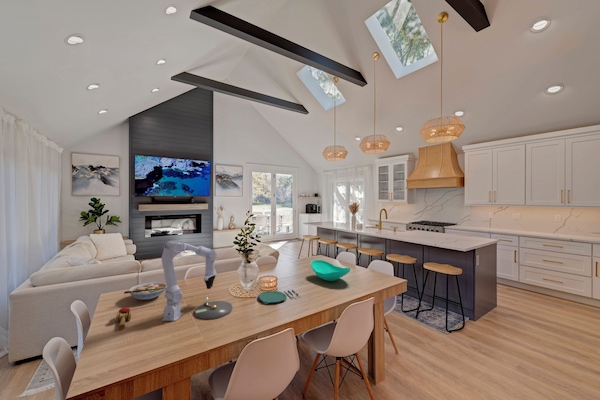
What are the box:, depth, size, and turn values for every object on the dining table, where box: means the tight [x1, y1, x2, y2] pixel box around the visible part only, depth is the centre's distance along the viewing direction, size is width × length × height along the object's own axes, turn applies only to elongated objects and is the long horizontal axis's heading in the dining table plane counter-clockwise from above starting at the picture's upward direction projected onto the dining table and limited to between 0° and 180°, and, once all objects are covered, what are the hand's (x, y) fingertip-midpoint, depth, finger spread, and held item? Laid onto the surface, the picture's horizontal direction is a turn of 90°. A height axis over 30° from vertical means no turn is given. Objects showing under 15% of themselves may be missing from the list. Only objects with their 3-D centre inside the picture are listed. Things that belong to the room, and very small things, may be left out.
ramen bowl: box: [123, 281, 167, 301], centre depth 170 cm, size 25×23×8 cm
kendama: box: [115, 306, 133, 331], centre depth 137 cm, size 8×6×18 cm
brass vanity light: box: [202, 296, 217, 309], centre depth 154 cm, size 11×3×5 cm, turn 61°
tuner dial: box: [194, 300, 233, 320], centre depth 153 cm, size 22×22×2 cm
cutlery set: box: [257, 289, 300, 305], centre depth 175 cm, size 20×30×2 cm, turn 116°
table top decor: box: [310, 259, 352, 282], centre depth 216 cm, size 40×28×13 cm
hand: (209, 287), depth 163 cm, fingers open, 3 cm apart
